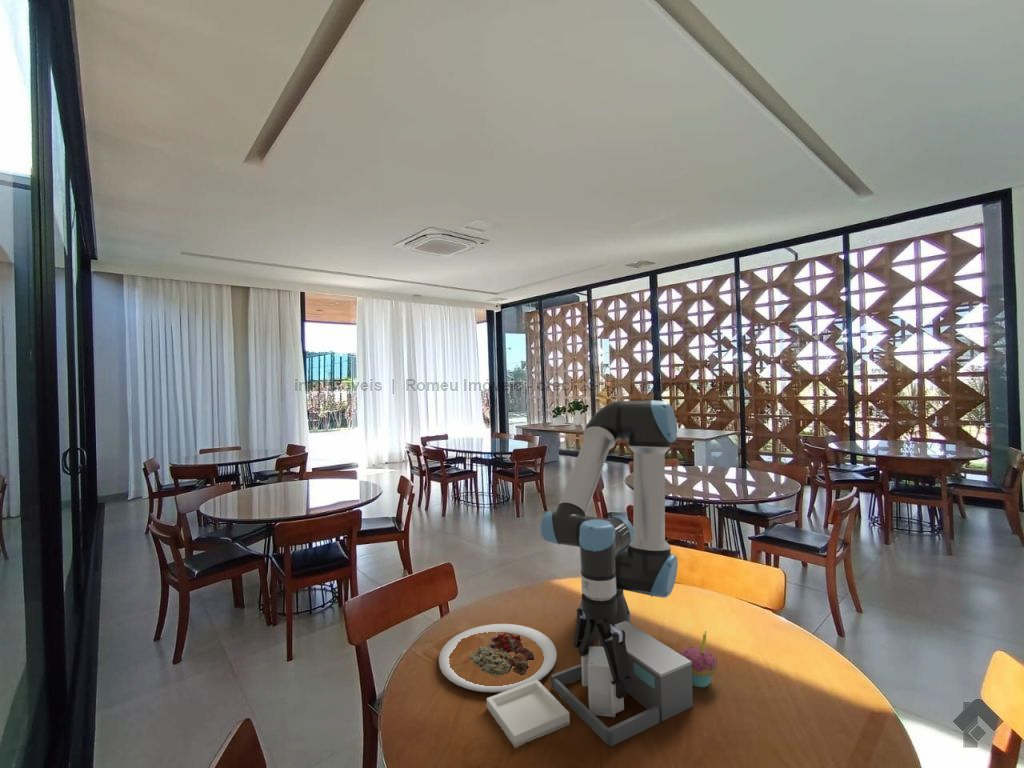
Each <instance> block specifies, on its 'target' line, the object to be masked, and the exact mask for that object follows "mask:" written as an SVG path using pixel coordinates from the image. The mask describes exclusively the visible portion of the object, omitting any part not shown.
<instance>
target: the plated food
mask: <svg viewBox="0 0 1024 768" xmlns="http://www.w3.org/2000/svg"><path fill="white" fill-rule="evenodd" d="M484 632H486V633H488V632H496V633H497V632H505V633H504V634H502V635H501V634H498V635H497V636H496V637H494V636H492V637H491V641H492V643H491V644H490V646H489V645H486V646H487V647H485V646H484V647H480V648H477V649H478V651H476V653H475V654H472V652H471V653H470V654H471V655H470V657H469V658H470V659H471V658H472V659H473V662H474V665H475V666H477V665H478V666H479V667H481V668H482V669H481V671H483V673H486V672H487V673H489V674H491V675H492V676H494V677H499V676H500V675H504V674H508V673H509V672H510V670H511V668H512V666H514V667H515V668H514V669H513V670H514V671H513V672H515V673H518V674H520V675H525V674H526V672H527V671H526V670H527V669H528V668H529V665H528V663H527V661H528V660H534V653H533V652H532V651H530V650H528V649H527V648H525V647H523V646H522V645H523V644H522V643H521V642H520V641H521V639H520V635H521V636H524V637H526V638H529V639H531V640H532V641H534V642H536V644H537V645H538V646H539V647H540V648H541V650H542V652H543V656H544V661H543V664H542V666H541V668H540V669H539V670H538V671H537V672H536V673H535V674H534V675H532V676H531V677H529V678H527V679H525V680H523V681H520V682H517V683H514V684H509V685H503V686H484V685H479V684H474V683H472V682H469V681H466V680H465V679H463V678H461V677H459V676H458V675H457V674H456V673H455V672H454V670H452V668H450V664H449V663H450V662H449V660H450V659H449V656H450V654H451V653H452V652H453V650H454V649H455V648H456V646H457V644H458V642H460V641H461V639H463V638H467V637H469V636H471V635H474V634H478V633H484ZM510 633H513V634H518V636H514V635H513V634H510ZM493 637H494V638H493ZM509 652H515V654H516V655H515V656H511V655H509V654H508V653H509ZM438 656H439V657H438V665H439V666H438V667H439V669H440V671H441V673H442V675H444V677H445V678H446V679H447V680H448V681H449V682H452V683H453V684H455V685H456V686H458V687H462V688H464V689H467V690H469V691H474V692H481V693H502V692H505V691H508V690H510V689H513V688H516V687H518V686H521V685H524V684H526V683H529V682H532V681H534V680H538V681H539V682H540V681H541V680H543V678H545V677H546V676H548V675H549V673H550V672H551V671H552V670H553V669H554V667H555V665H556V662H557V657H558V655H557V649H556V646H555V644H554V643H553V641H552V640H551V639H550V638H549V637H548V636H547V635H545V634H544V633H542V632H541V631H539V630H536V629H534V628H532V627H529V626H524V625H519V624H513V623H491V624H483V625H480V626H476V627H473V628H469V629H468V630H464V631H462V632H460V633H458V634H457V635H455V636H453V637H452V638H450V640H448V641H447V642H446V643H445V645H444V646H443V647H442V648H441V651H440V653H439V655H438ZM470 662H471V660H470ZM523 671H524V672H523Z"/></svg>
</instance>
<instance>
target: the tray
mask: <svg viewBox="0 0 1024 768" xmlns="http://www.w3.org/2000/svg"><path fill="white" fill-rule="evenodd" d="M487 708H488V709H489V711H490V712H491V714H492V715H493V717H494V718H495V719H496V721H497V723H498V724H499V726H500V727H501V728H500V727H499V726H498V727H499V728H500V730H501V729H502V730H503V731H504V733H505V734H506V735H505V734H504V733H503V734H504V735H505V737H506V736H507V737H508V738H507V737H506V738H507V739H509V740H510V741H511V742H510V741H509V740H508V741H509V742H510V744H511V743H512V744H513V745H512V744H511V745H512V746H514V747H517V746H519V745H522V744H524V743H526V742H529V741H531V740H533V739H536V738H538V737H540V738H542V737H544V735H545V736H547V735H549V734H551V733H553V732H554V733H555V732H556V731H557V730H560V729H562V728H565V727H567V726H569V725H571V724H570V723H571V722H570V720H571V719H570V712H569V710H568V709H566V708H565V707H564V705H562V704H561V702H560V701H559V700H558V699H557V698H556V697H555V696H554V695H553V694H552V693H551V692H550V691H549V690H548V688H546V687H545V686H544V685H543V684H542V682H541V681H540V680H539V681H538V680H534V681H532V682H529V683H526V684H524V685H521V686H518V687H516V688H513V689H510V690H508V691H505V692H499V693H497V694H495V695H491V696H489V697H487V698H486V709H487ZM491 714H490V715H491ZM493 717H492V718H493ZM496 721H495V722H496ZM497 723H496V724H497ZM498 724H497V725H498ZM502 730H501V731H502ZM503 731H502V732H503ZM546 734H547V735H546ZM541 736H542V737H541ZM538 739H539V738H538ZM536 740H537V739H536ZM533 741H534V740H533ZM531 742H532V741H531ZM529 743H530V742H529ZM524 745H525V744H524ZM522 746H523V745H522ZM514 747H513V748H514ZM517 748H518V747H517Z"/></svg>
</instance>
